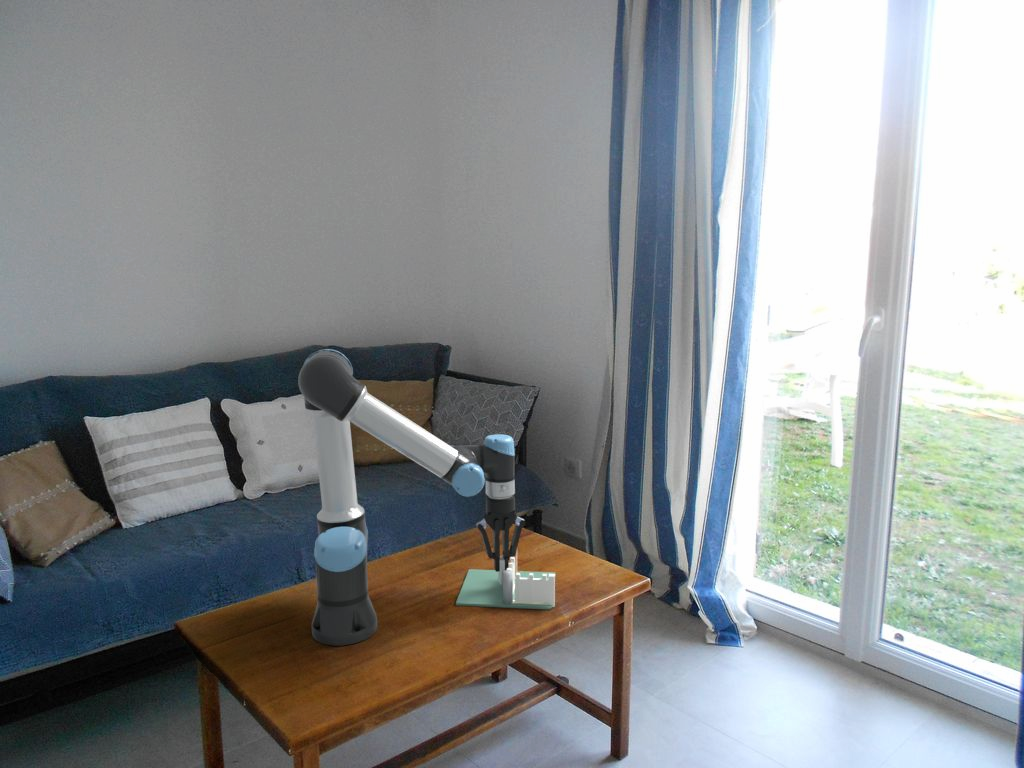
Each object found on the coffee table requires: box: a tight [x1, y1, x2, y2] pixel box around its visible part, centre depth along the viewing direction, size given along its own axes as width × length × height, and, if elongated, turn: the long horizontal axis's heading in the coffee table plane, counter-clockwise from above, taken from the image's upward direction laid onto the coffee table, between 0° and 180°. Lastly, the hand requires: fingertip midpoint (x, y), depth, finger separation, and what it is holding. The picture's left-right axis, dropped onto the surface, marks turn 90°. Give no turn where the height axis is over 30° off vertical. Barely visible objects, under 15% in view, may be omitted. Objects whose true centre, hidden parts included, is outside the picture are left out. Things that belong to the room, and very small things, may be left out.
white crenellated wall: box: [507, 550, 518, 586], centre depth 195 cm, size 12×2×8 cm, turn 173°
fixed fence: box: [503, 570, 556, 608], centre depth 187 cm, size 13×2×8 cm, turn 84°
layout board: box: [455, 568, 557, 610], centre depth 196 cm, size 24×20×1 cm
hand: (501, 582), depth 196 cm, fingers closed
